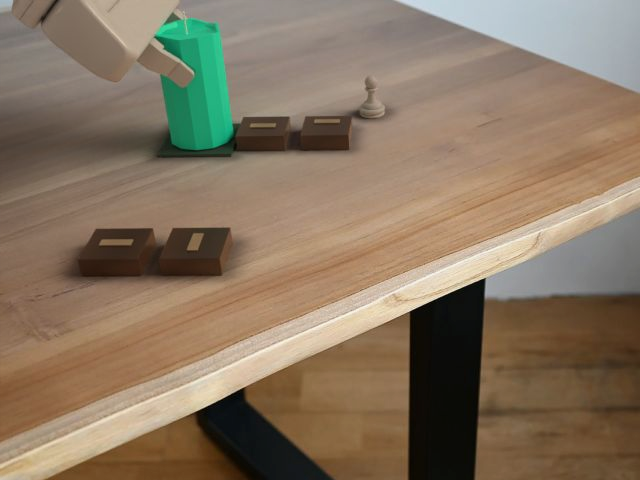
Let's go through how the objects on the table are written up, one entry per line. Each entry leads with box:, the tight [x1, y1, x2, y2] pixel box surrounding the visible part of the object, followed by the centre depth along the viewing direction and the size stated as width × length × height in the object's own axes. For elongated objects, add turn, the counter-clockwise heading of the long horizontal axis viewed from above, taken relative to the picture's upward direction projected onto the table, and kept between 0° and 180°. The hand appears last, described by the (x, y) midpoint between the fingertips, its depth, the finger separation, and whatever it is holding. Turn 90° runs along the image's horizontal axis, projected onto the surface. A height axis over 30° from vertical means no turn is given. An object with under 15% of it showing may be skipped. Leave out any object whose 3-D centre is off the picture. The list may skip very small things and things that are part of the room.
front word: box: [77, 226, 234, 277], centre depth 69 cm, size 10×4×2 cm, turn 89°
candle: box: [154, 10, 234, 150], centre depth 83 cm, size 6×6×12 cm
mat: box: [157, 122, 241, 158], centre depth 87 cm, size 7×7×1 cm
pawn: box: [358, 75, 386, 120], centre depth 90 cm, size 3×3×4 cm
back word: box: [235, 115, 353, 152], centre depth 86 cm, size 10×4×2 cm, turn 89°
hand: (198, 67), depth 83 cm, fingers closed on candle, 5 cm apart
